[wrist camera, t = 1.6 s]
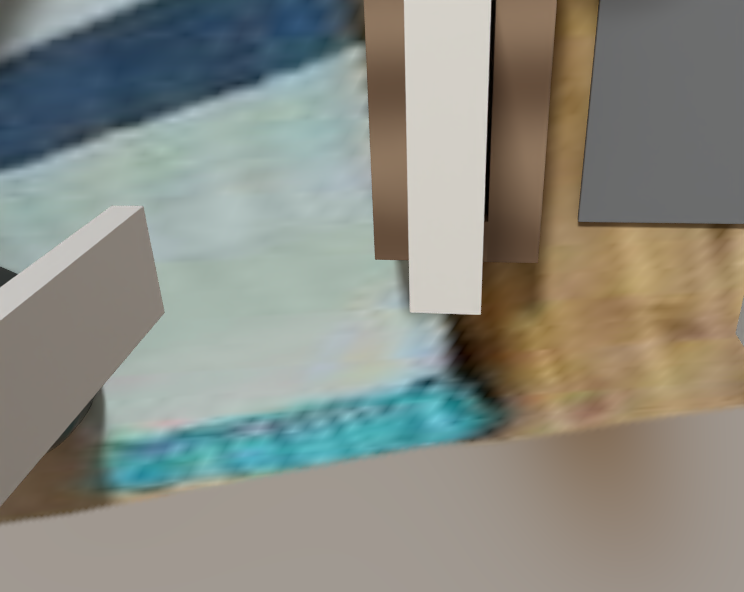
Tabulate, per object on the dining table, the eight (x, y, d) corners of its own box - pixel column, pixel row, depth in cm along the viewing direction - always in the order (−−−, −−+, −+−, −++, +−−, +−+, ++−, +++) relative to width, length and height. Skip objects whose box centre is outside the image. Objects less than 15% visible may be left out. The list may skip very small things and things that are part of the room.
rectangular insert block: (482, 181, 38) (480, 314, 25) (436, 180, 38) (409, 312, 25) (489, -46, 33) (492, -30, 20) (436, -44, 33) (403, -26, 20)
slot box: (530, 218, 40) (537, 262, 34) (389, 216, 41) (375, 259, 35) (552, -110, 32) (565, -118, 27) (379, -101, 33) (359, -106, 28)
